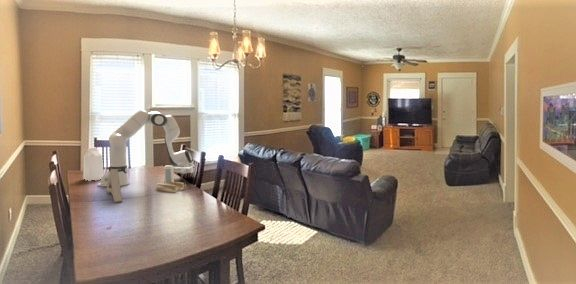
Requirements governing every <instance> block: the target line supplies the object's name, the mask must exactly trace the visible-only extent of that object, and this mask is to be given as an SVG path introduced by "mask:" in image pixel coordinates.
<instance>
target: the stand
mask: <svg viewBox="0 0 576 284" xmlns="http://www.w3.org/2000/svg"><path fill="white" fill-rule="evenodd" d="M155 186H156V187H155V191H161V192H169V193H170V192H171V193H175V192H179V190H180V191H182V190H185V183H184V182H181V181H180V182H179V181H178V182H177V181H174V182H170V181H165V180H164V183H156V185H155Z"/></svg>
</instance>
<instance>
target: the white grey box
mask: <svg viewBox="0 0 576 284" xmlns="http://www.w3.org/2000/svg"><path fill="white" fill-rule="evenodd" d="M173 166H174V165H168V164H166V165H164V169H163V171H164V182H165V181H170V182H175V178H174V176H175V175H174V174H175V172H174V169H173Z"/></svg>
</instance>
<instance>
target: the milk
mask: <svg viewBox="0 0 576 284" xmlns="http://www.w3.org/2000/svg"><path fill="white" fill-rule="evenodd" d="M102 156H103V155H102V154H101V153H100V151H99V150H98V147H96V146H93V147H92V146H91V147H88V148H87V149H86V152H85V153H84V155H83V173H82V174H83V178H82V179H83V180H84V179H85V181H87V180H88V181H87V182H92V181H91V180H95V181H101V180H100V179H101V177H102V176H103V175H104V174H105V173H104V163H103V157H102Z"/></svg>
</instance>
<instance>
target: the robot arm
mask: <svg viewBox="0 0 576 284" xmlns="http://www.w3.org/2000/svg"><path fill="white" fill-rule="evenodd" d="M148 123H149V124H151V125H152V126H155V127H163V130H164V132H165V136H164V144H165V147H166V152H167V156H168V161H169V163H170V165H171V166H173V169H174V173H178V174H181V175H185V174H191V173H194V168H193V167H195V163H194V164H193V162H194V160H193V159H194V158H193V155H192V153H191V151H189V150H187V149H184V150H181V151H177V152H175V150H174V148H173V147H174V146H173V142H174V141H175V140H177V138H178V137H179V136H180V133H181V129H180V126H179V125H178V122H177V120H176V119H175V117H174V116H173V115H171V114H168V115H167V114H166V115H164V113H161V112H159V111H157V110H149V111H146V110H144V109H139V110H138V111H137V112H135V113H134V114H133V115H131V116H130V118H128V119H127V120H126V121H125V122H124V123H123V124H122V125H121V126H120V127H118V128H117V129H116V130H115V131H114V132H112V134H111V135H109V137H108V143H109V144H110V145H109V146H110V155H109V157H110V159H109V161H110V166H109V167H107V170H108V171H107V172H106V173H104V175H103V176H102V177H101V180H100V182H98V183H97V187H107V184H108V179H109V174H110V170H115V169H118V175H119V182H120V187H121V186H127V185H130V180H129V175H128V165H127V141H128V140H130V138H132V137H133V136H134V135H136V134H137V133H138V132H139V131H140V130H141V129H142V128H143V127H144V126H145V125H146V124H148Z"/></svg>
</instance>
